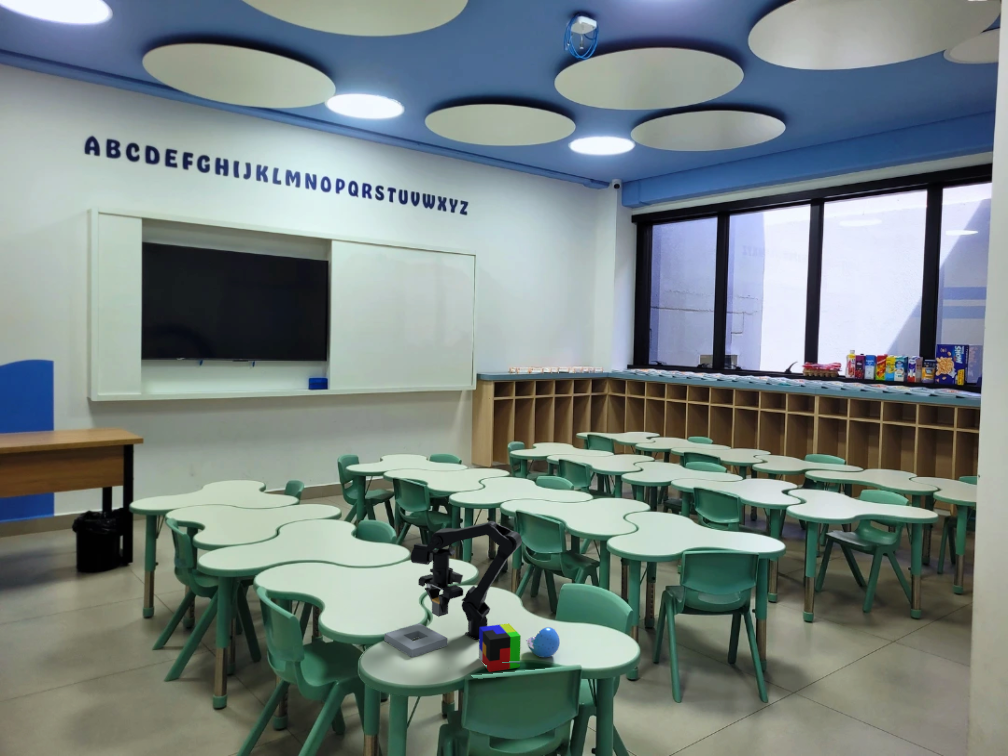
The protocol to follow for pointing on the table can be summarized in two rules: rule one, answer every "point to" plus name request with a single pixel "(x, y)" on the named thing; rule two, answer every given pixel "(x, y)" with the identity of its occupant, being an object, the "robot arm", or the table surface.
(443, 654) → the table surface
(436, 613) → the orange-topped grey block
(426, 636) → the plate
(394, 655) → the table surface
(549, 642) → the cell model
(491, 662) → the puzzle toy
